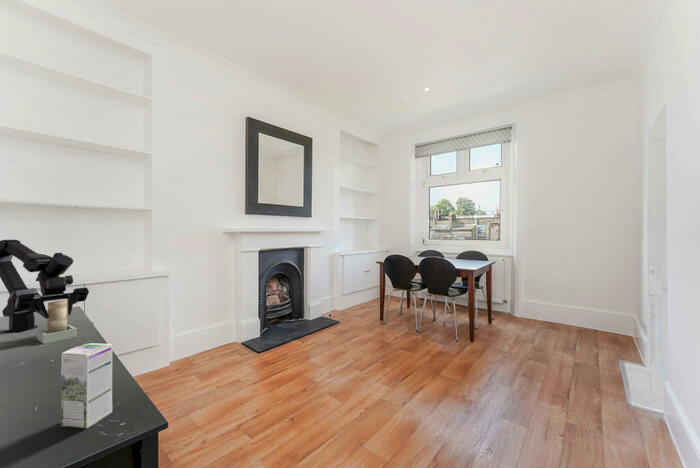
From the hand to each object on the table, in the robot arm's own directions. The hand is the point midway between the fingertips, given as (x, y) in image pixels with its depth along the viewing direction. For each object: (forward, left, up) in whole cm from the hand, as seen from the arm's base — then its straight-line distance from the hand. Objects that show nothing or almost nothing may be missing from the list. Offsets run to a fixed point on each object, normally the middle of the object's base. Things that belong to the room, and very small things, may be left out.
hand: (58, 316), depth 106 cm
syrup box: (+51, -49, -8) cm, 71 cm away
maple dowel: (-1, +1, -8) cm, 8 cm away
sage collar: (-1, +1, -8) cm, 8 cm away
